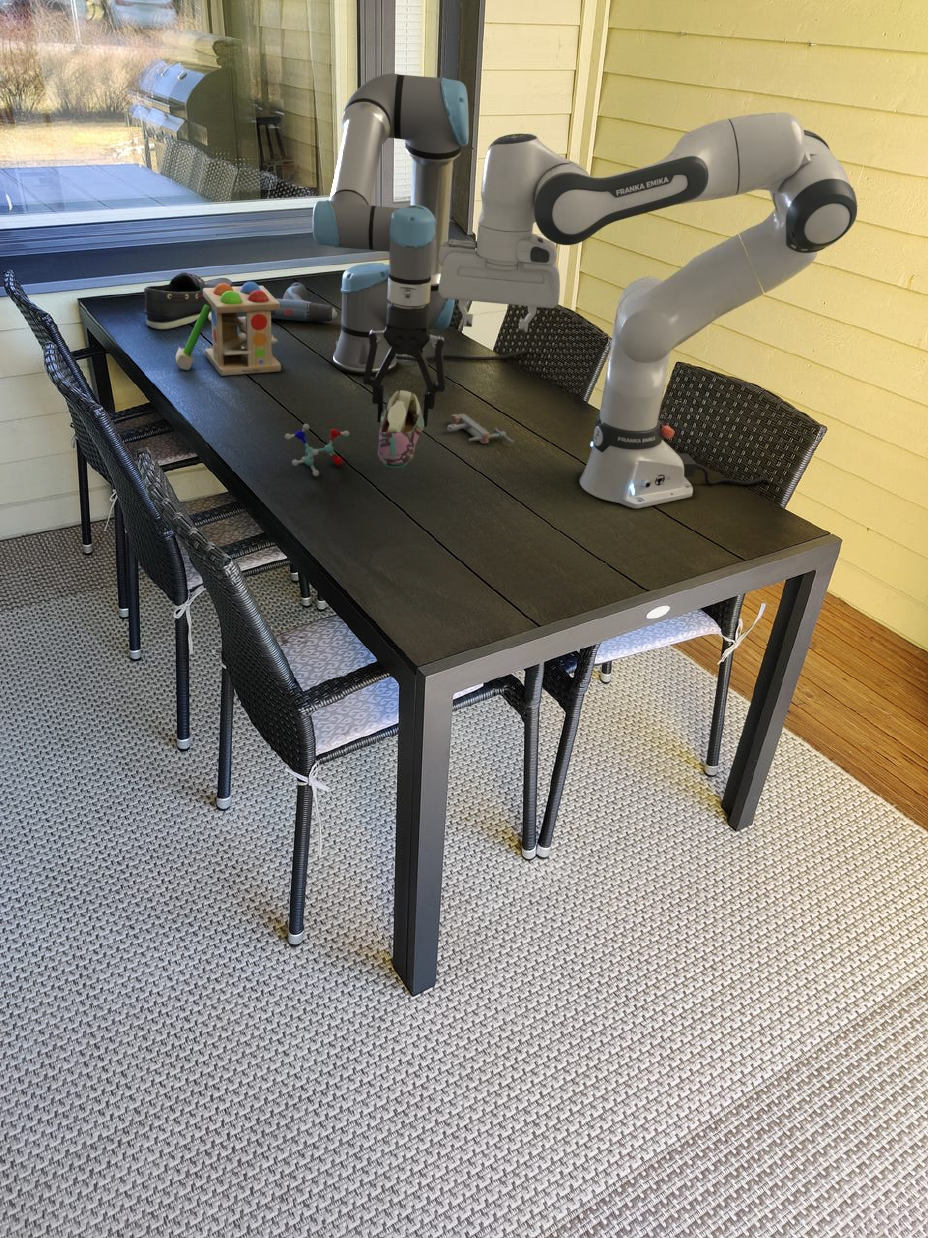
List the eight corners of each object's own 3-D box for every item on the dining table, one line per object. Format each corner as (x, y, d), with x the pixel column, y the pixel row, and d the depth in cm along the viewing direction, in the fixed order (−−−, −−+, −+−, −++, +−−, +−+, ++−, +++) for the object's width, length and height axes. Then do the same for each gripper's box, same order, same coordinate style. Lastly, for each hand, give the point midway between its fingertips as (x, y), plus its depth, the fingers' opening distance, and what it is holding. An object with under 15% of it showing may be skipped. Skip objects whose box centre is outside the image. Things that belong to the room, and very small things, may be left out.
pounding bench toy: (183, 379, 220) (176, 299, 210) (169, 357, 231) (162, 280, 221) (282, 371, 230) (280, 294, 220) (264, 350, 240) (262, 276, 230)
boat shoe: (255, 307, 269) (253, 268, 263) (164, 331, 245) (159, 289, 239) (221, 298, 274) (218, 260, 269) (128, 321, 250) (123, 279, 245)
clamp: (439, 415, 210) (479, 410, 214) (438, 425, 211) (478, 419, 216) (475, 444, 199) (516, 437, 204) (474, 454, 201) (515, 447, 205)
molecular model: (334, 468, 182) (316, 416, 180) (292, 484, 185) (274, 433, 184) (360, 462, 192) (343, 413, 191) (320, 477, 196) (303, 429, 194)
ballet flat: (427, 416, 192) (429, 374, 187) (416, 473, 172) (419, 427, 167) (384, 413, 191) (385, 370, 186) (369, 468, 172) (370, 423, 167)
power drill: (344, 304, 276) (335, 327, 259) (277, 298, 275) (264, 321, 258) (344, 285, 273) (335, 306, 256) (277, 279, 272) (264, 300, 255)
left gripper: (347, 303, 171) (345, 424, 184) (465, 315, 172) (455, 434, 185) (353, 290, 177) (351, 408, 191) (467, 301, 178) (457, 418, 191)
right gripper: (438, 242, 156) (433, 328, 164) (566, 254, 157) (554, 339, 164) (441, 233, 161) (435, 316, 169) (564, 244, 162) (553, 327, 170)
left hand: (402, 421), depth 188 cm, fingers closed on ballet flat, 8 cm apart
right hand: (495, 328), depth 167 cm, fingers open, 8 cm apart
